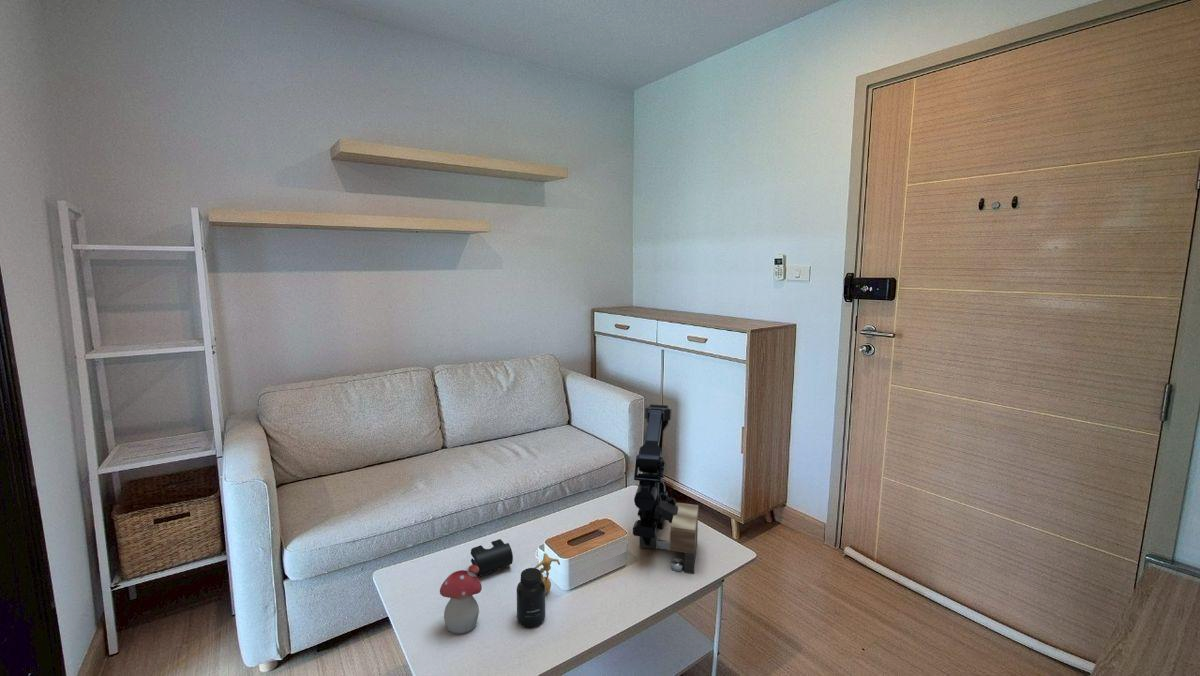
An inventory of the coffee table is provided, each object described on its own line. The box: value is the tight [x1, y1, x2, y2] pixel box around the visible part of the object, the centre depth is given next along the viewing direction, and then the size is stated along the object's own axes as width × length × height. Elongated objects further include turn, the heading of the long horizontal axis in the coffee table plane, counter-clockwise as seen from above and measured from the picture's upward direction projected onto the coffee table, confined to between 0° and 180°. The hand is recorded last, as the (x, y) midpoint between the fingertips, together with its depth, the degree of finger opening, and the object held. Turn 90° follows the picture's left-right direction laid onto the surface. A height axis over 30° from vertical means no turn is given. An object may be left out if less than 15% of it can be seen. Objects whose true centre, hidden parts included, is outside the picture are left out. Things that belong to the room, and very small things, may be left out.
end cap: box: [470, 538, 514, 578], centre depth 139 cm, size 10×7×7 cm
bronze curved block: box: [669, 502, 699, 575], centre depth 144 cm, size 14×7×13 cm, turn 165°
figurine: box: [534, 552, 561, 594], centre depth 128 cm, size 8×6×12 cm
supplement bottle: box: [516, 567, 546, 629], centre depth 119 cm, size 7×7×12 cm
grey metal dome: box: [670, 557, 685, 573], centre depth 139 cm, size 4×4×2 cm
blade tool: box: [638, 529, 671, 551], centre depth 148 cm, size 2×14×5 cm, turn 75°
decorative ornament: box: [439, 564, 483, 634], centre depth 117 cm, size 9×7×15 cm
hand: (648, 542), depth 149 cm, fingers closed on blade tool, 2 cm apart
